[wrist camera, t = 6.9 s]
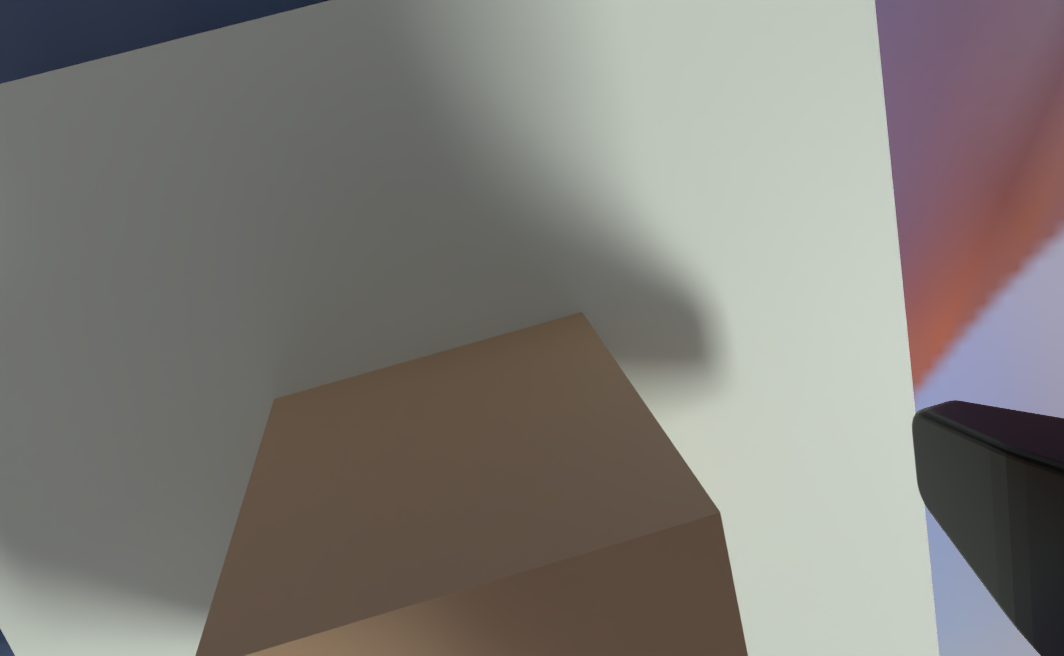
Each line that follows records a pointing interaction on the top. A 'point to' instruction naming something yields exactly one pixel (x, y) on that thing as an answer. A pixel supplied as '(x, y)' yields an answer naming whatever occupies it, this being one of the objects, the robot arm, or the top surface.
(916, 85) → the top surface
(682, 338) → the lid
